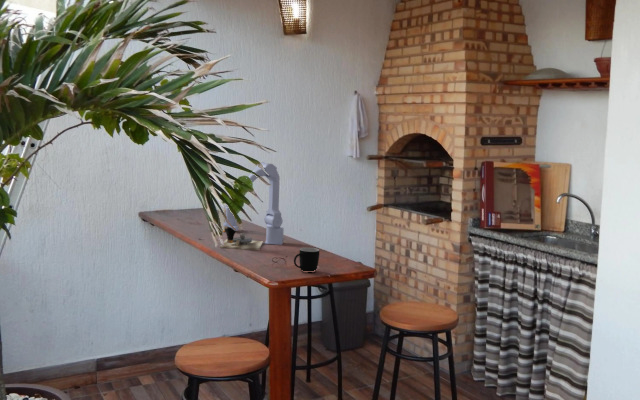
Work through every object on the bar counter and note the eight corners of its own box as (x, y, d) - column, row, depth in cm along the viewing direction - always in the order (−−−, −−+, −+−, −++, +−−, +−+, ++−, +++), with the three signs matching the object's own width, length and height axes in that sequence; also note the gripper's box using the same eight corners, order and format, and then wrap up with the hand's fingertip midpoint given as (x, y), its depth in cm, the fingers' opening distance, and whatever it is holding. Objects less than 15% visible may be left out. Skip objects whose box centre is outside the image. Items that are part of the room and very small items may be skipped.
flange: (243, 238, 369) (243, 236, 369) (255, 241, 362) (255, 239, 362) (222, 241, 359) (222, 238, 359) (234, 244, 352) (234, 241, 352)
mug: (312, 268, 316) (313, 247, 314) (321, 273, 308) (323, 250, 307) (289, 270, 310) (290, 248, 309) (298, 274, 302) (299, 252, 301)
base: (263, 242, 372) (263, 231, 371) (258, 250, 352) (259, 238, 351) (226, 240, 372) (226, 229, 372) (219, 247, 353) (220, 236, 352)
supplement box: (224, 232, 399) (225, 209, 397) (218, 231, 401) (219, 208, 400) (234, 230, 405) (235, 208, 403) (228, 229, 408) (229, 207, 406)
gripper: (218, 214, 361) (217, 239, 363) (229, 218, 349) (229, 245, 350) (230, 213, 365) (229, 239, 366) (242, 218, 352) (241, 244, 354)
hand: (230, 242), depth 359 cm, fingers closed, pressing on flange
